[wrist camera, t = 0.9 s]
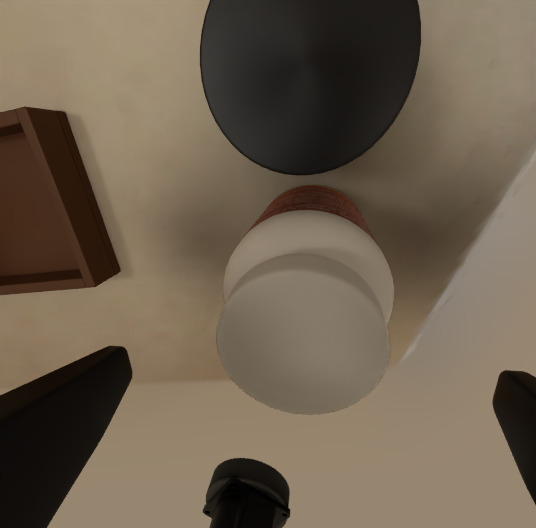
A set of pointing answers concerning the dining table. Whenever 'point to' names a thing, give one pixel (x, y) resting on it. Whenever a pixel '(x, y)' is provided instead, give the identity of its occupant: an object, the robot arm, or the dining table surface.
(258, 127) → the charcoal tin
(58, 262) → the walnut tray
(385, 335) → the pill bottle
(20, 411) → the robot arm
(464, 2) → the dining table surface
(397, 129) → the dining table surface
